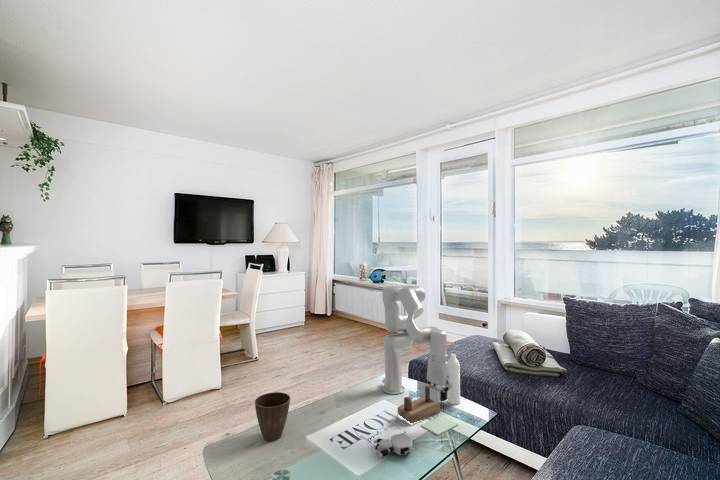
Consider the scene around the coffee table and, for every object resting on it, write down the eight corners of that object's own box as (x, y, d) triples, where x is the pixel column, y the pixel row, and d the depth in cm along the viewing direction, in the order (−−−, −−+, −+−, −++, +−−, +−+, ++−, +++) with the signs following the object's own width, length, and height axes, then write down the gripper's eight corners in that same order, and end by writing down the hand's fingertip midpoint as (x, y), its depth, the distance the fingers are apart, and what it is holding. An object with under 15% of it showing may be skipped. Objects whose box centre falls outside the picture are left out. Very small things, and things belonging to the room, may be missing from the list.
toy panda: (378, 465, 129) (416, 458, 131) (377, 453, 129) (416, 446, 131) (373, 446, 141) (408, 440, 143) (372, 435, 141) (407, 429, 143)
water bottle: (458, 399, 182) (458, 352, 182) (461, 404, 175) (460, 356, 176) (442, 399, 182) (441, 352, 183) (444, 404, 176) (443, 355, 176)
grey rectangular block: (429, 398, 155) (429, 387, 155) (440, 394, 159) (439, 384, 159) (438, 402, 151) (438, 391, 151) (448, 398, 155) (448, 387, 155)
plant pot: (271, 424, 157) (271, 389, 158) (297, 432, 150) (297, 395, 151) (247, 440, 144) (247, 402, 144) (274, 450, 137) (274, 410, 137)
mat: (420, 426, 155) (420, 424, 155) (440, 416, 163) (440, 415, 163) (437, 435, 147) (437, 434, 147) (458, 425, 155) (458, 424, 155)
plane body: (397, 417, 162) (397, 392, 163) (426, 406, 174) (426, 382, 175) (411, 425, 155) (410, 398, 156) (440, 412, 167) (439, 388, 167)
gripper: (419, 355, 160) (419, 394, 160) (448, 364, 147) (449, 407, 146) (429, 352, 165) (430, 390, 164) (459, 361, 151) (459, 402, 150)
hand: (439, 397), depth 155 cm, fingers closed on grey rectangular block, 5 cm apart
